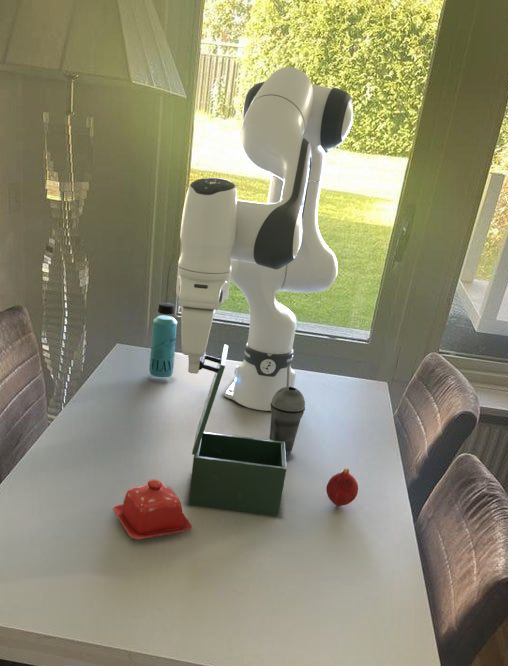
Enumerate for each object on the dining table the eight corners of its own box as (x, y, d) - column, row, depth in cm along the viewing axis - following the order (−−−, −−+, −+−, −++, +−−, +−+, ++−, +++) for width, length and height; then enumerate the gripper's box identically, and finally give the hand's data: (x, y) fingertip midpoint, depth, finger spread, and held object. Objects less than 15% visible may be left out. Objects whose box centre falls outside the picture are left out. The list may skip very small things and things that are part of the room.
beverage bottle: (146, 381, 182) (151, 305, 173) (151, 372, 188) (156, 299, 179) (170, 384, 182) (176, 308, 172) (174, 376, 188) (181, 302, 178)
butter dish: (109, 511, 124) (111, 469, 120) (169, 503, 128) (173, 462, 124) (131, 546, 115) (134, 502, 111) (195, 536, 119) (200, 493, 115)
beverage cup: (295, 465, 147) (311, 375, 137) (260, 459, 147) (275, 370, 138) (296, 451, 153) (313, 364, 143) (264, 445, 154) (278, 359, 144)
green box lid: (228, 345, 125) (200, 336, 125) (225, 366, 115) (195, 356, 115) (201, 429, 134) (175, 421, 133) (195, 455, 123) (167, 447, 123)
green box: (277, 486, 138) (284, 441, 133) (278, 516, 128) (286, 469, 123) (194, 475, 139) (199, 430, 134) (188, 504, 128) (193, 457, 124)
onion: (356, 515, 130) (365, 477, 127) (326, 512, 130) (334, 475, 126) (350, 499, 136) (358, 463, 132) (320, 497, 135) (328, 460, 132)
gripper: (189, 270, 124) (183, 345, 131) (177, 297, 106) (170, 382, 113) (225, 274, 124) (216, 349, 131) (218, 302, 106) (209, 387, 113)
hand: (195, 365), depth 122 cm, fingers closed on green box lid, 6 cm apart
